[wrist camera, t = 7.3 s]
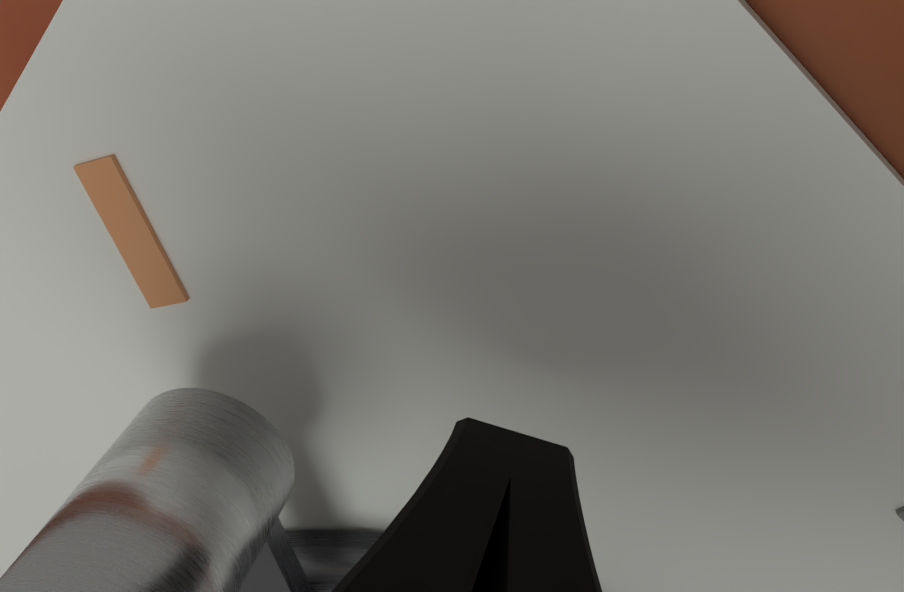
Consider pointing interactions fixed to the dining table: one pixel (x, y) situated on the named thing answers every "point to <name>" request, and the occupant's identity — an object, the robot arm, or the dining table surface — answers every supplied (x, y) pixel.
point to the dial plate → (467, 267)
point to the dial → (186, 512)
